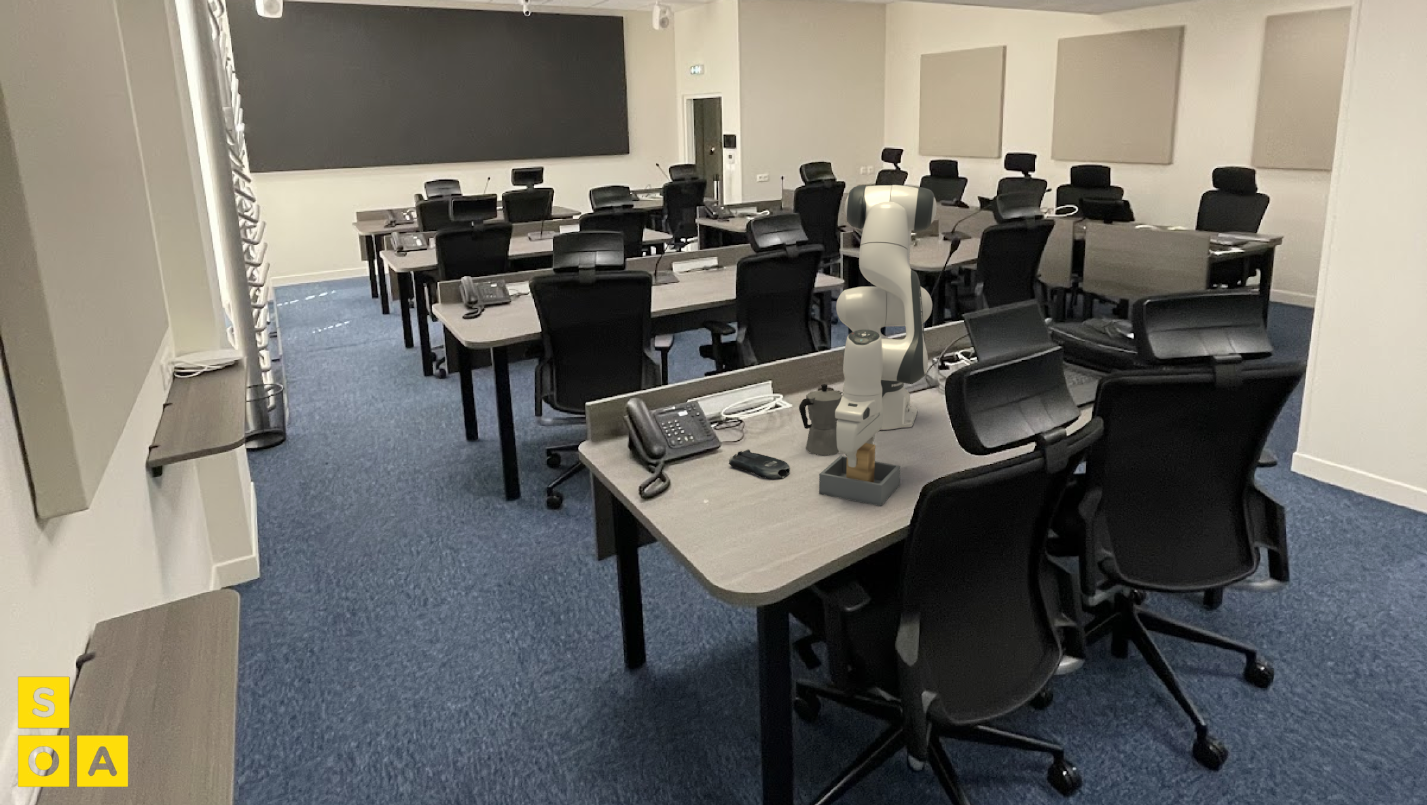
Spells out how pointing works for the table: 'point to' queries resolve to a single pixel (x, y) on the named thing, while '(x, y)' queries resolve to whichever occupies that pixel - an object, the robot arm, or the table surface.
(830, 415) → the coffeepot
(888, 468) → the desk bin
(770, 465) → the electronic device
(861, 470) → the oak block
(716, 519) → the table surface
